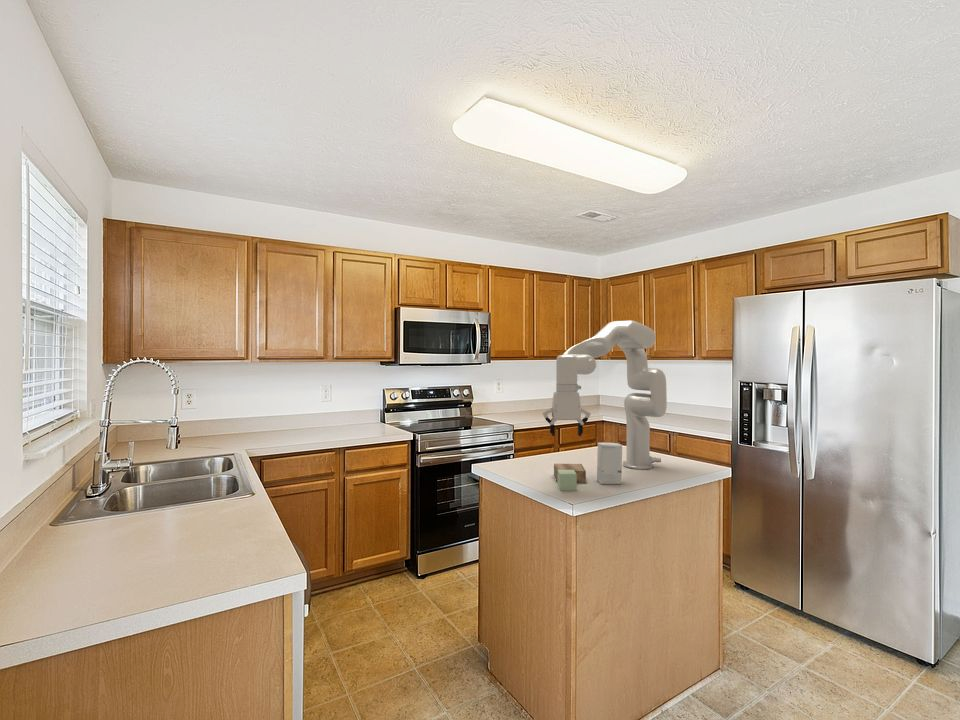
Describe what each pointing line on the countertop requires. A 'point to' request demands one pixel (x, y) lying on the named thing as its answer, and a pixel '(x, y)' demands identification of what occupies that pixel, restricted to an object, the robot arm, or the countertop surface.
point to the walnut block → (576, 467)
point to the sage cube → (567, 479)
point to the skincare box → (609, 463)
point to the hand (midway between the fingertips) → (566, 435)
